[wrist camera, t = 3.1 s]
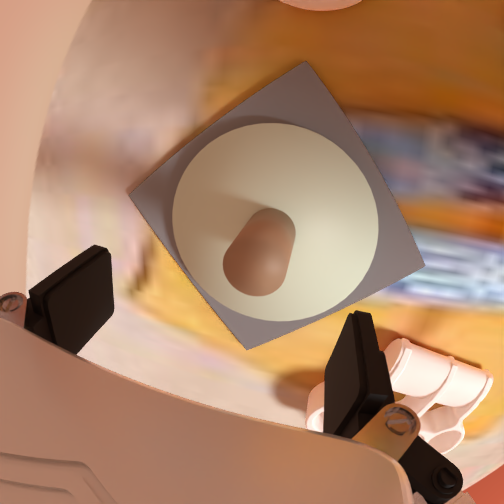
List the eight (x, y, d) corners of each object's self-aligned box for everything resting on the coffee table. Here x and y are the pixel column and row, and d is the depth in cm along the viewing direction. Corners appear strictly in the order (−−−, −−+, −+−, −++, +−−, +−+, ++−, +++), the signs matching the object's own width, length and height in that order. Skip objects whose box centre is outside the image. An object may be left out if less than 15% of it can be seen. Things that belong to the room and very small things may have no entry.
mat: (423, 262, 19) (425, 265, 19) (248, 346, 25) (246, 350, 24) (306, 62, 16) (306, 60, 15) (132, 193, 22) (128, 195, 21)
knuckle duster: (504, 369, 21) (418, 450, 28) (363, 314, 22) (286, 418, 28) (515, 392, 18) (421, 472, 25) (368, 342, 19) (281, 444, 25)
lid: (408, 260, 19) (434, 310, 13) (250, 337, 24) (230, 393, 18) (300, 82, 16) (291, 62, 11) (145, 199, 21) (92, 227, 16)
